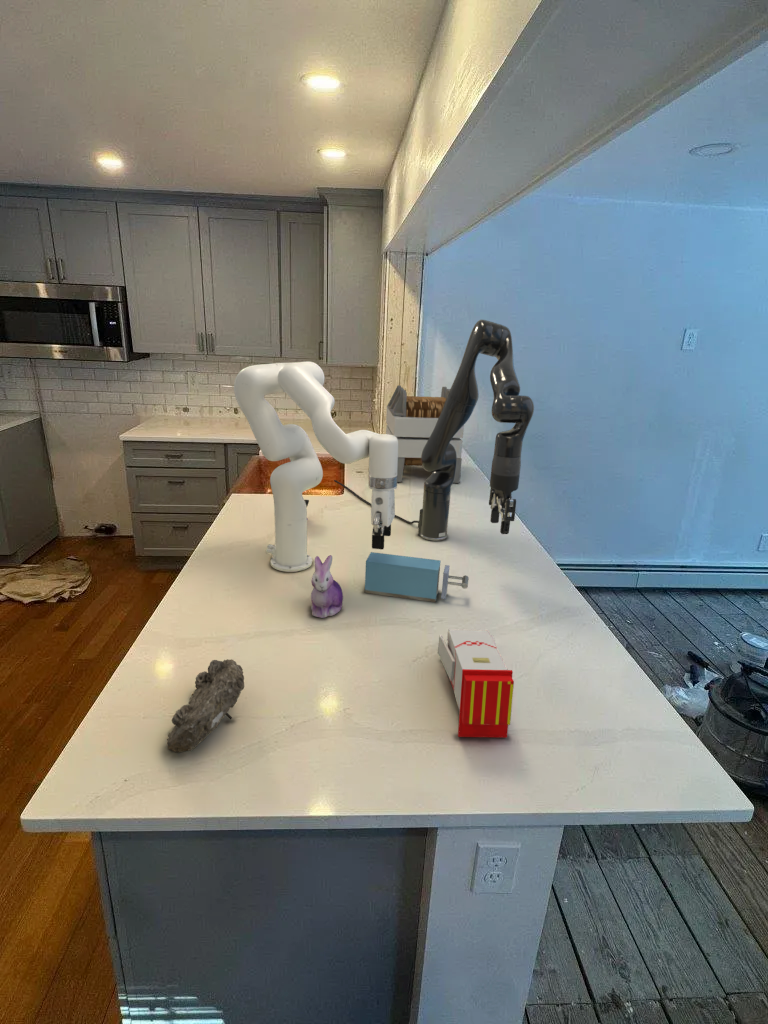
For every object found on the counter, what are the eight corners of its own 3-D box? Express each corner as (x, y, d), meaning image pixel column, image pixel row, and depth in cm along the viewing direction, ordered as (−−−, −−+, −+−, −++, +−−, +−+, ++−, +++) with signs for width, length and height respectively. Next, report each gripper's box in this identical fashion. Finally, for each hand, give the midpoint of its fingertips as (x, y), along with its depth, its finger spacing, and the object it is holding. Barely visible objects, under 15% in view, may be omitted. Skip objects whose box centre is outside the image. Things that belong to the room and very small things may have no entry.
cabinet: (438, 591, 160) (440, 560, 157) (435, 602, 154) (438, 570, 151) (369, 582, 164) (370, 551, 160) (364, 592, 158) (365, 561, 154)
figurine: (316, 622, 141) (316, 568, 136) (302, 604, 150) (302, 552, 145) (351, 615, 146) (352, 562, 140) (335, 597, 154) (336, 546, 149)
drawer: (467, 593, 158) (469, 567, 155) (466, 602, 153) (468, 576, 151) (381, 582, 162) (383, 557, 160) (378, 590, 157) (379, 564, 155)
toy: (488, 613, 130) (523, 677, 101) (484, 667, 133) (517, 744, 104) (435, 612, 130) (455, 676, 101) (432, 666, 133) (451, 743, 103)
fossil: (192, 660, 117) (244, 628, 112) (224, 691, 120) (276, 661, 115) (142, 746, 98) (202, 712, 93) (182, 779, 101) (242, 748, 96)
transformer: (382, 463, 289) (386, 382, 275) (445, 464, 293) (451, 384, 279) (390, 482, 257) (394, 392, 243) (460, 483, 261) (468, 394, 247)
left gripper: (390, 492, 141) (389, 555, 146) (402, 474, 157) (400, 532, 162) (361, 489, 142) (360, 552, 148) (375, 472, 158) (374, 529, 164)
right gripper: (529, 478, 144) (521, 537, 150) (510, 464, 158) (503, 518, 163) (500, 478, 143) (494, 538, 149) (483, 464, 157) (478, 519, 162)
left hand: (381, 541), depth 155 cm, fingers open, 9 cm apart
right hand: (499, 528), depth 156 cm, fingers open, 8 cm apart
